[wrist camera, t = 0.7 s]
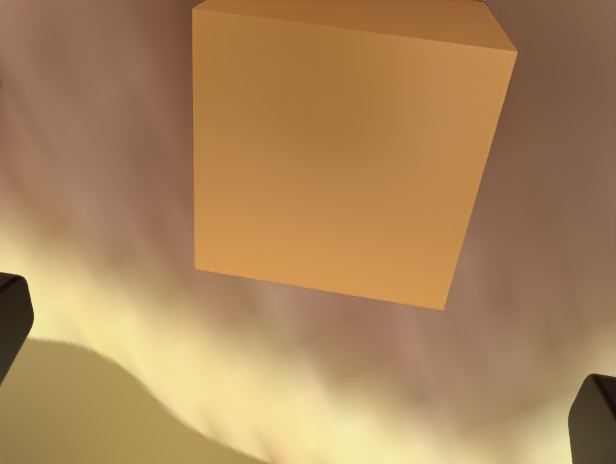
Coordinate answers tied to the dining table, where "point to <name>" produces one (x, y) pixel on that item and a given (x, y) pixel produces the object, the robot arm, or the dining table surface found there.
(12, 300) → the robot arm
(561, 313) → the dining table surface
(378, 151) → the tan orange cube
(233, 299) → the dining table surface
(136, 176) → the dining table surface
